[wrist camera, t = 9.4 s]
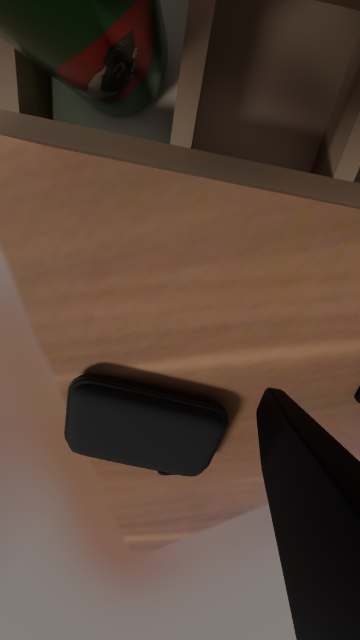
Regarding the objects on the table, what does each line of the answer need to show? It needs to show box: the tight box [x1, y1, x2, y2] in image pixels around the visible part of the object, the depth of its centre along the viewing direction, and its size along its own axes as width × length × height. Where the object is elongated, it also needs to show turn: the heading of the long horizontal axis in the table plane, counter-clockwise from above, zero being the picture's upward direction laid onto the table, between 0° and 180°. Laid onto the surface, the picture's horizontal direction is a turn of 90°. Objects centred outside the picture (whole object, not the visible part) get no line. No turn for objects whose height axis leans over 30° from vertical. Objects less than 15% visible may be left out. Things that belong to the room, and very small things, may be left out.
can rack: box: [0, 0, 360, 209], centre depth 13 cm, size 10×25×4 cm, turn 80°
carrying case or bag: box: [64, 374, 229, 476], centre depth 26 cm, size 11×3×15 cm
